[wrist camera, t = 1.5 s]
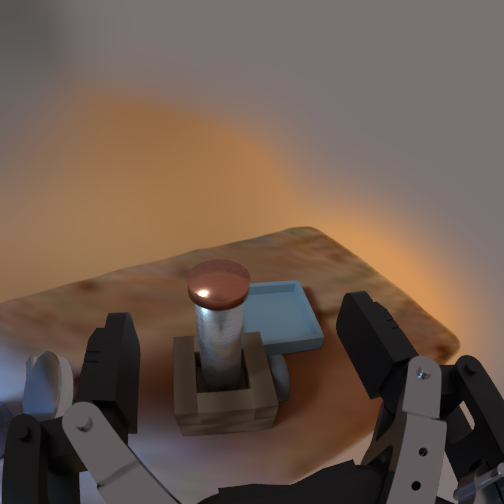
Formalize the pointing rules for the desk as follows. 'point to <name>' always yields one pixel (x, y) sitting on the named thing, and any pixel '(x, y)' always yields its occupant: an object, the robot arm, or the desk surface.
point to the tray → (282, 318)
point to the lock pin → (219, 320)
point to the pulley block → (228, 402)
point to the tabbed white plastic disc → (47, 386)
